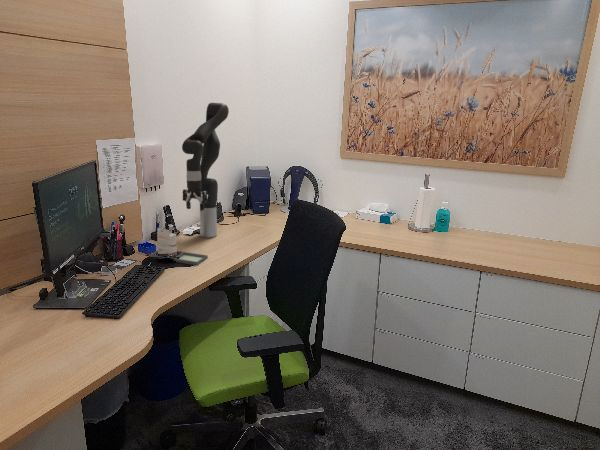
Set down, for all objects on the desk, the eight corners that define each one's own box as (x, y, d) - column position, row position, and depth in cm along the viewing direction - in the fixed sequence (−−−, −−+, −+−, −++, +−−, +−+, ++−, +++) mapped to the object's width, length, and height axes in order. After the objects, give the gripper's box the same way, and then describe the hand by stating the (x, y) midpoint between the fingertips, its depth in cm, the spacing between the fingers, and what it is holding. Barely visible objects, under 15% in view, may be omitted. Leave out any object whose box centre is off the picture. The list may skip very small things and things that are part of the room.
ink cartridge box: (177, 256, 216) (176, 228, 212) (170, 259, 212) (169, 230, 207) (165, 253, 219) (163, 225, 215) (157, 255, 215) (156, 227, 211)
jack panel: (162, 251, 222) (161, 248, 221) (207, 258, 215) (207, 255, 215) (150, 257, 212) (149, 254, 212) (197, 265, 206) (197, 262, 205)
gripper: (209, 179, 227) (210, 209, 231) (187, 177, 233) (189, 207, 237) (200, 181, 221) (202, 212, 225) (178, 179, 226) (180, 209, 230)
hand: (195, 209), depth 231 cm, fingers open, 8 cm apart
